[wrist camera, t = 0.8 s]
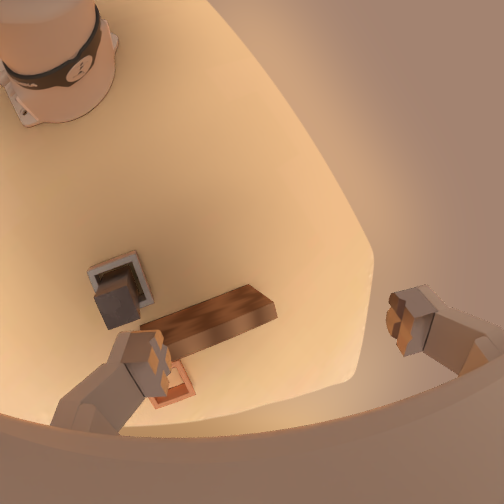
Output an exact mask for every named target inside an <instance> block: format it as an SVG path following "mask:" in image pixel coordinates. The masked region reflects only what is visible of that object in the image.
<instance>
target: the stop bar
mask: <svg viewBox="0 0 504 504" xmlns="http://www.w3.org/2000/svg"><path fill="white" fill-rule="evenodd" d="M94 299H95V302H96V304H97V306H98V308H99V311H100V313H101V315H102V317H103V319H104V322H105V324H106V326H107V328H108V330H110V329H113V328H116V327H119V326H121V325H124V324H127V323H130V322H132V321H135V320H138V319H140V303H139V289H138V287H137V284H136V282H135V279H134V276H133V274H132V271H131V268H130V266H129V265H126V266H123V267H121V268H118V269H115V270H113V271H110V272H107V273H105V274H104V275H103V277H102V279H101V281H100V284H99V286H98V289H97V291H96V293H95V296H94Z"/></svg>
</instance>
